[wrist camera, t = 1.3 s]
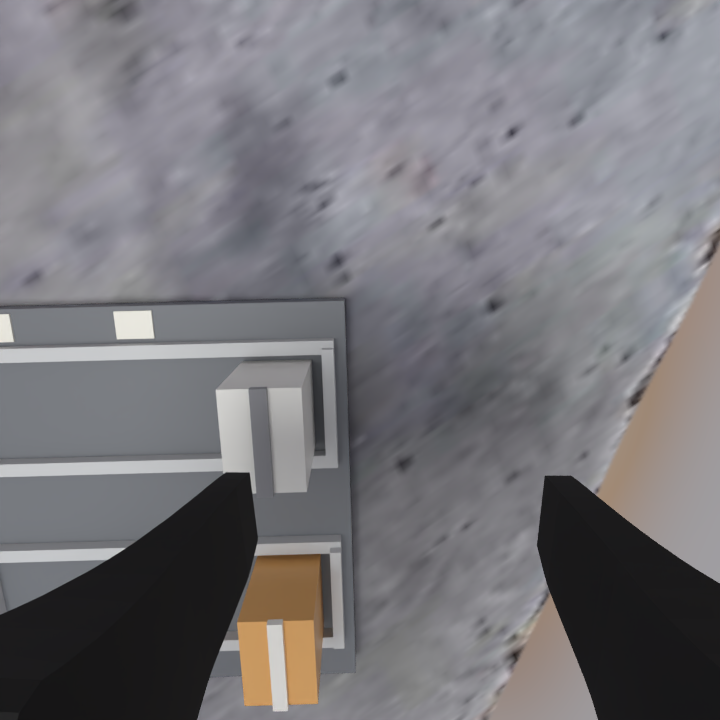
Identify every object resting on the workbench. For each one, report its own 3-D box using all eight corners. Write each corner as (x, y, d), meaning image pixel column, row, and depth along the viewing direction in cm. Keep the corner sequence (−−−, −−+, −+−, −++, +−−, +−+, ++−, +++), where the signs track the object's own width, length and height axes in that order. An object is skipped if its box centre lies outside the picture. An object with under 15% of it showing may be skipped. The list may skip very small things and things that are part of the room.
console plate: (355, 654, 27) (355, 689, 25) (-59, 666, 27) (-95, 703, 25) (344, 297, 23) (344, 303, 21) (-149, 310, 23) (-202, 317, 20)
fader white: (315, 446, 23) (306, 496, 18) (249, 448, 23) (223, 498, 18) (311, 358, 22) (300, 388, 17) (242, 360, 22) (213, 390, 17)
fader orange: (324, 625, 25) (317, 710, 20) (263, 627, 25) (243, 712, 20) (320, 552, 24) (313, 623, 20) (257, 553, 24) (235, 625, 20)
